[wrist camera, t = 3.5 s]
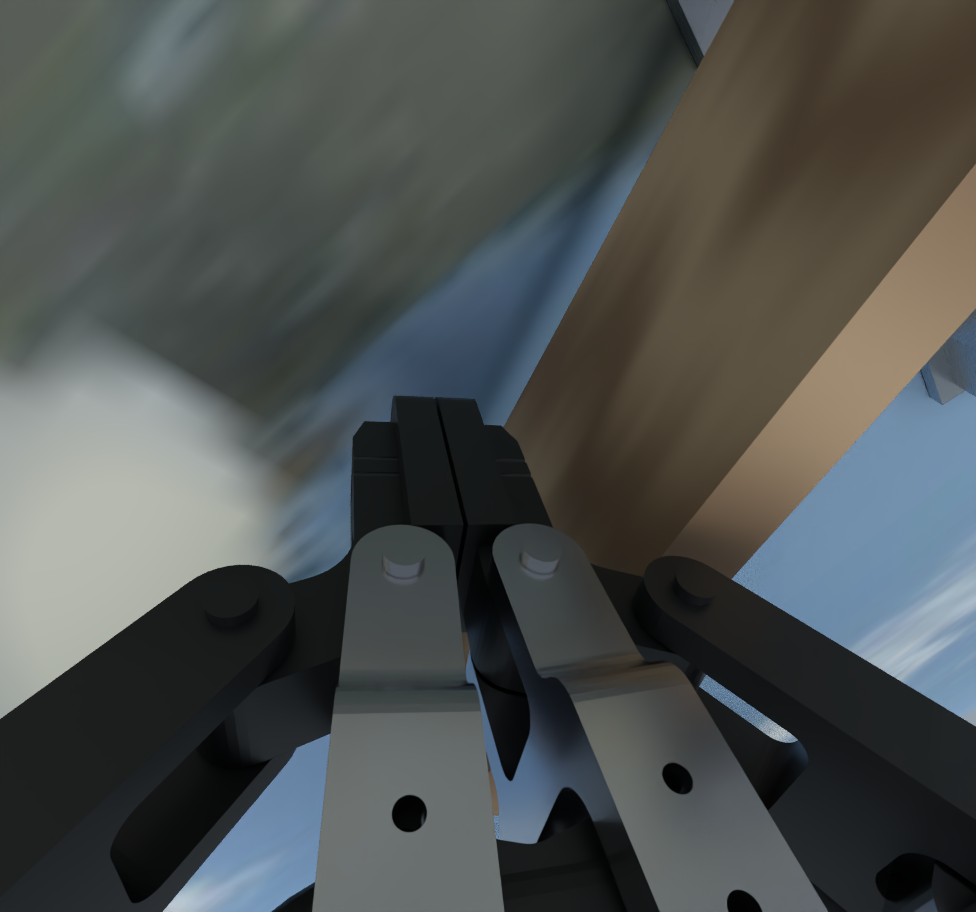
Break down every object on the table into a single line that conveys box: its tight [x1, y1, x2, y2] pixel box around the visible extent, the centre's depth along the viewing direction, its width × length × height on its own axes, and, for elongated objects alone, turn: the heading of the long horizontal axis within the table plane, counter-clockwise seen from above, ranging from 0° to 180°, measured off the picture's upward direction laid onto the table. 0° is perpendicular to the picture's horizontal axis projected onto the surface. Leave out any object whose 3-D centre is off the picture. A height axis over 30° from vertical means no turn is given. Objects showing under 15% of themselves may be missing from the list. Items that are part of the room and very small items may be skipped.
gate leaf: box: [462, 0, 976, 815], centre depth 13 cm, size 16×2×10 cm, turn 155°
